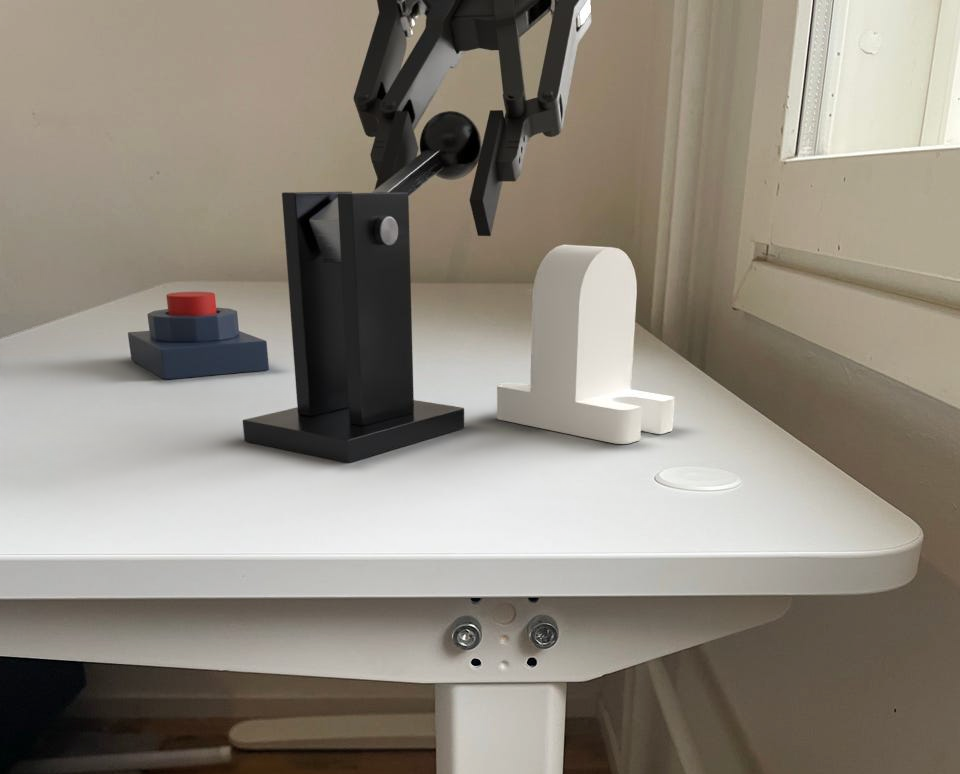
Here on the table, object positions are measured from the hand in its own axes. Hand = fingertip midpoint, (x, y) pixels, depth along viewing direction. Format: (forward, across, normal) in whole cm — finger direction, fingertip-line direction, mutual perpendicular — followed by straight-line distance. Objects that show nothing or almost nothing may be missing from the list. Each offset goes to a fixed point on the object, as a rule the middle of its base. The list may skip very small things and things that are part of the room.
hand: (432, 217), depth 57 cm
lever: (0, +1, 0) cm, 1 cm away
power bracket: (+11, +3, -5) cm, 13 cm away
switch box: (-2, +24, -18) cm, 30 cm away
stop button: (-4, +24, -16) cm, 29 cm away
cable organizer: (+7, -9, -9) cm, 15 cm away
